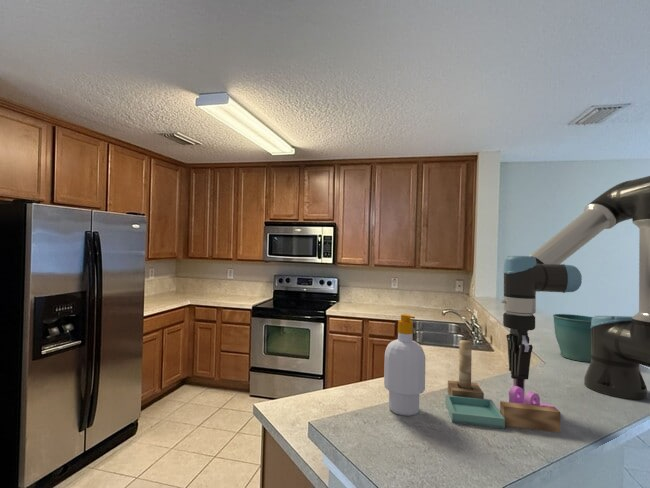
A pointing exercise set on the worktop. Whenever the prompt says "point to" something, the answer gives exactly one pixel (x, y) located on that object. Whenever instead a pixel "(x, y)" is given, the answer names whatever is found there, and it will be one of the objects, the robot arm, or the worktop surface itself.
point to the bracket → (530, 398)
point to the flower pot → (573, 336)
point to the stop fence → (530, 416)
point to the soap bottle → (404, 370)
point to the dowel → (465, 364)
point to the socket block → (464, 390)
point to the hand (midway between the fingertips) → (517, 402)
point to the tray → (474, 411)
